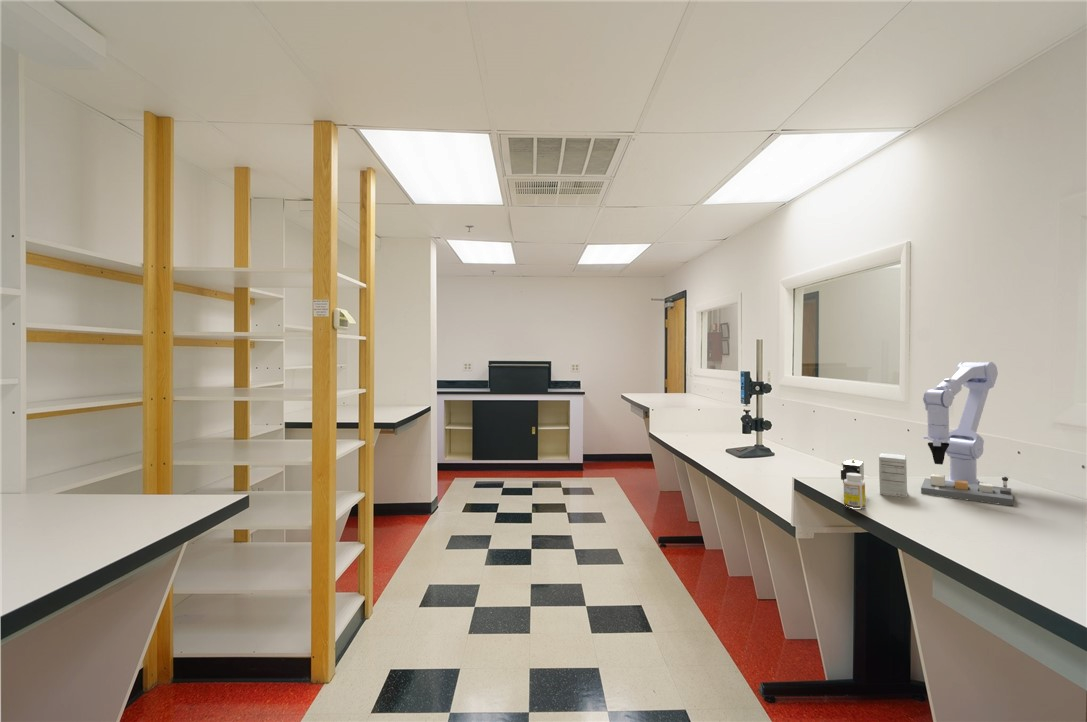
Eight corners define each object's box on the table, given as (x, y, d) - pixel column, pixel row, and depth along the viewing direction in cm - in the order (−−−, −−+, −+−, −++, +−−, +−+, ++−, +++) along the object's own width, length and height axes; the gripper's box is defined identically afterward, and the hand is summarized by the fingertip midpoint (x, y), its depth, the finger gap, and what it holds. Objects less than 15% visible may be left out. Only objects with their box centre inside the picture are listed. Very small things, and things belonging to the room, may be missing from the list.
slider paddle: (931, 482, 167) (931, 474, 166) (945, 484, 164) (944, 475, 164) (930, 484, 164) (930, 475, 164) (944, 486, 162) (944, 477, 162)
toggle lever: (1001, 487, 155) (1001, 476, 156) (1008, 488, 154) (1008, 477, 155) (1002, 486, 154) (1001, 475, 155) (1008, 487, 153) (1008, 476, 154)
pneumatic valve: (864, 492, 165) (864, 457, 165) (859, 500, 156) (859, 463, 156) (845, 489, 169) (845, 455, 169) (839, 498, 160) (838, 461, 160)
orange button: (955, 487, 163) (955, 480, 163) (968, 489, 161) (967, 481, 161) (954, 489, 161) (954, 482, 161) (967, 491, 159) (967, 483, 159)
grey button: (979, 490, 159) (979, 482, 159) (992, 492, 157) (992, 484, 157) (979, 492, 157) (979, 484, 157) (992, 494, 155) (992, 486, 155)
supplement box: (880, 489, 169) (880, 452, 168) (907, 492, 164) (906, 455, 164) (878, 494, 163) (878, 456, 163) (906, 498, 158) (906, 459, 158)
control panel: (925, 483, 174) (925, 475, 174) (1011, 494, 159) (1010, 485, 159) (921, 493, 162) (921, 484, 162) (1013, 506, 148) (1012, 496, 148)
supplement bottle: (858, 504, 153) (857, 471, 153) (869, 510, 147) (869, 476, 147) (840, 504, 153) (839, 472, 153) (851, 510, 148) (850, 476, 147)
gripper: (925, 421, 176) (925, 458, 177) (921, 426, 166) (922, 466, 166) (950, 422, 172) (951, 461, 172) (948, 427, 161) (949, 469, 161)
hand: (938, 463), depth 169 cm, fingers closed
